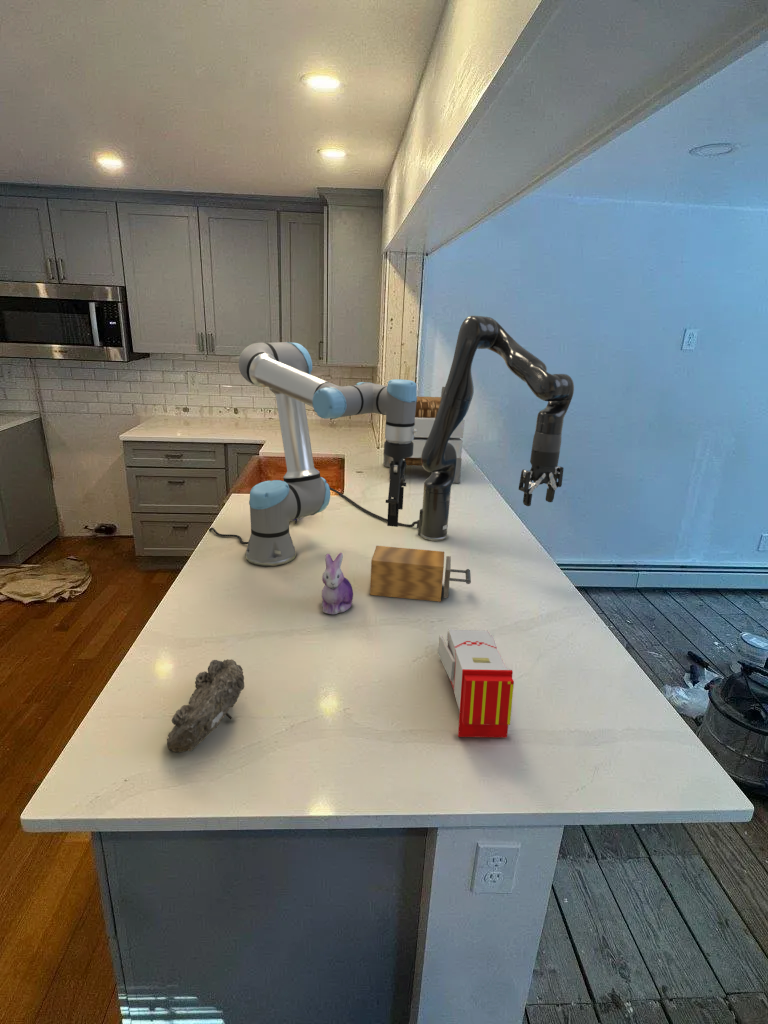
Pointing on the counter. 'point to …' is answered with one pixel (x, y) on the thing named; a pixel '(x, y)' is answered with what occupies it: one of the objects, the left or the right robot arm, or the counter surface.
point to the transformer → (423, 425)
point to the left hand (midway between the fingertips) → (395, 517)
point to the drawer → (447, 578)
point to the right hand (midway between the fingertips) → (537, 503)
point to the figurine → (335, 587)
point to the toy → (478, 682)
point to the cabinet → (407, 573)
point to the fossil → (206, 705)
